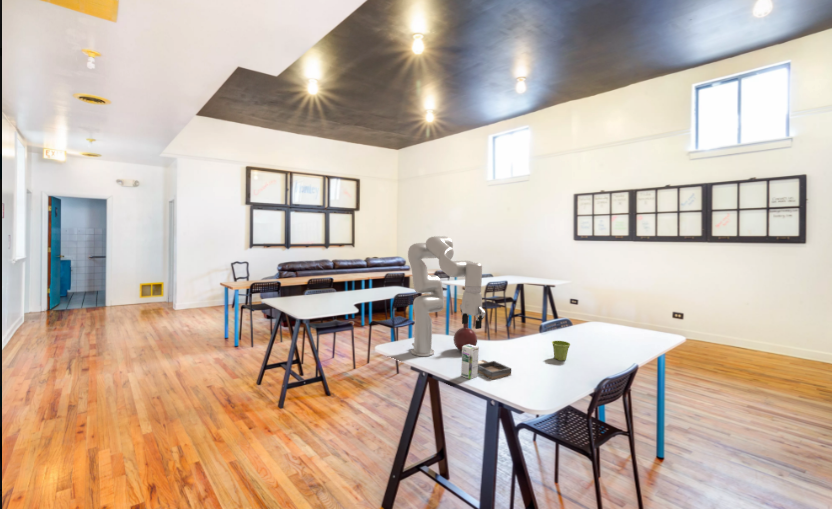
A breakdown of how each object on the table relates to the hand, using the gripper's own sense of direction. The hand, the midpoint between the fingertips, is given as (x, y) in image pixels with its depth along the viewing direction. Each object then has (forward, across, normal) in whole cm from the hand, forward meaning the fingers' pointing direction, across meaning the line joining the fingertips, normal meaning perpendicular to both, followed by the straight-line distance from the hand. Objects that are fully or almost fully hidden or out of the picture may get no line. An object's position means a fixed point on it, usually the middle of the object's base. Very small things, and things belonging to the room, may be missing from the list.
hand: (471, 326), depth 197 cm
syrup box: (+24, 0, 0) cm, 24 cm away
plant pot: (+24, +3, +60) cm, 65 cm away
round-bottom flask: (+24, -31, +22) cm, 45 cm away
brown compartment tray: (+24, -2, +13) cm, 27 cm away
